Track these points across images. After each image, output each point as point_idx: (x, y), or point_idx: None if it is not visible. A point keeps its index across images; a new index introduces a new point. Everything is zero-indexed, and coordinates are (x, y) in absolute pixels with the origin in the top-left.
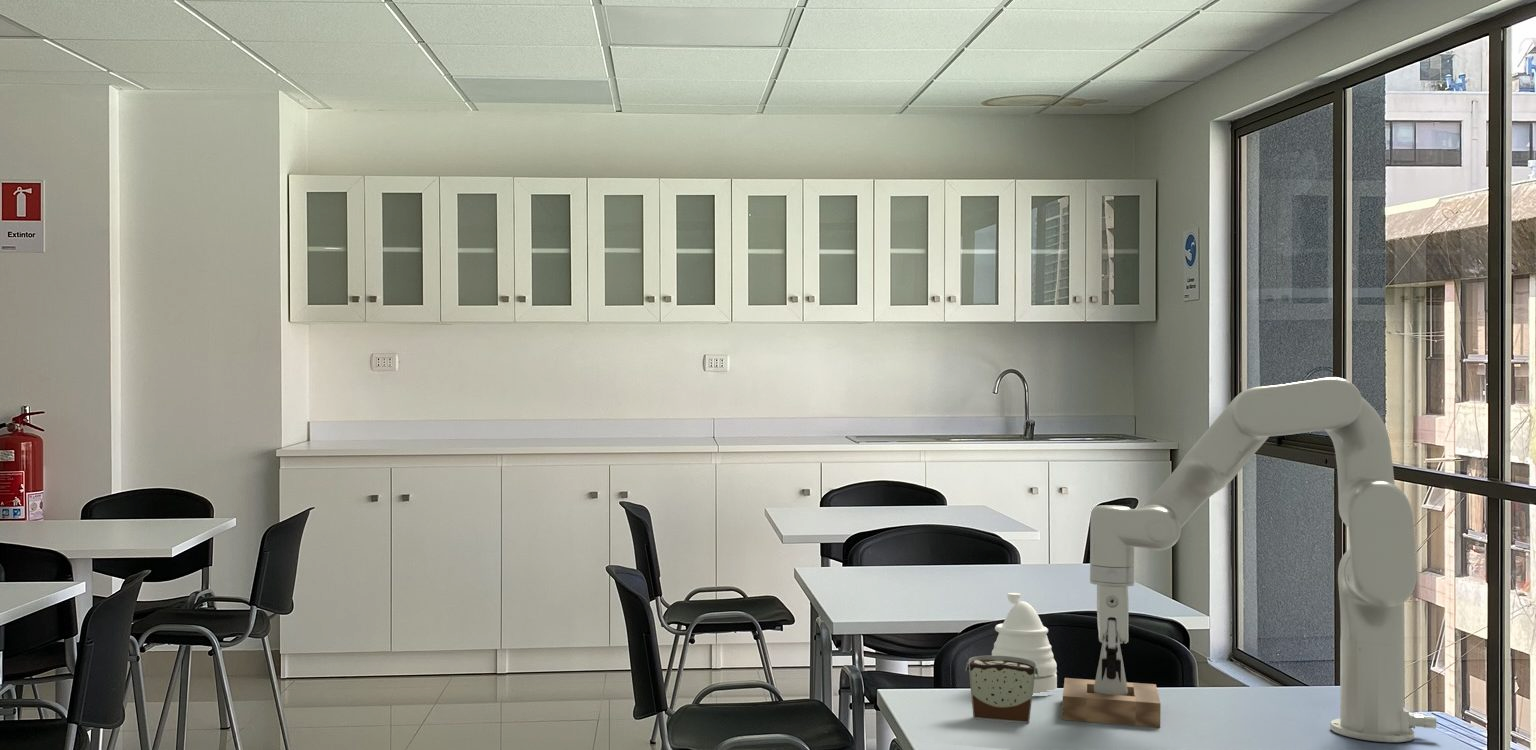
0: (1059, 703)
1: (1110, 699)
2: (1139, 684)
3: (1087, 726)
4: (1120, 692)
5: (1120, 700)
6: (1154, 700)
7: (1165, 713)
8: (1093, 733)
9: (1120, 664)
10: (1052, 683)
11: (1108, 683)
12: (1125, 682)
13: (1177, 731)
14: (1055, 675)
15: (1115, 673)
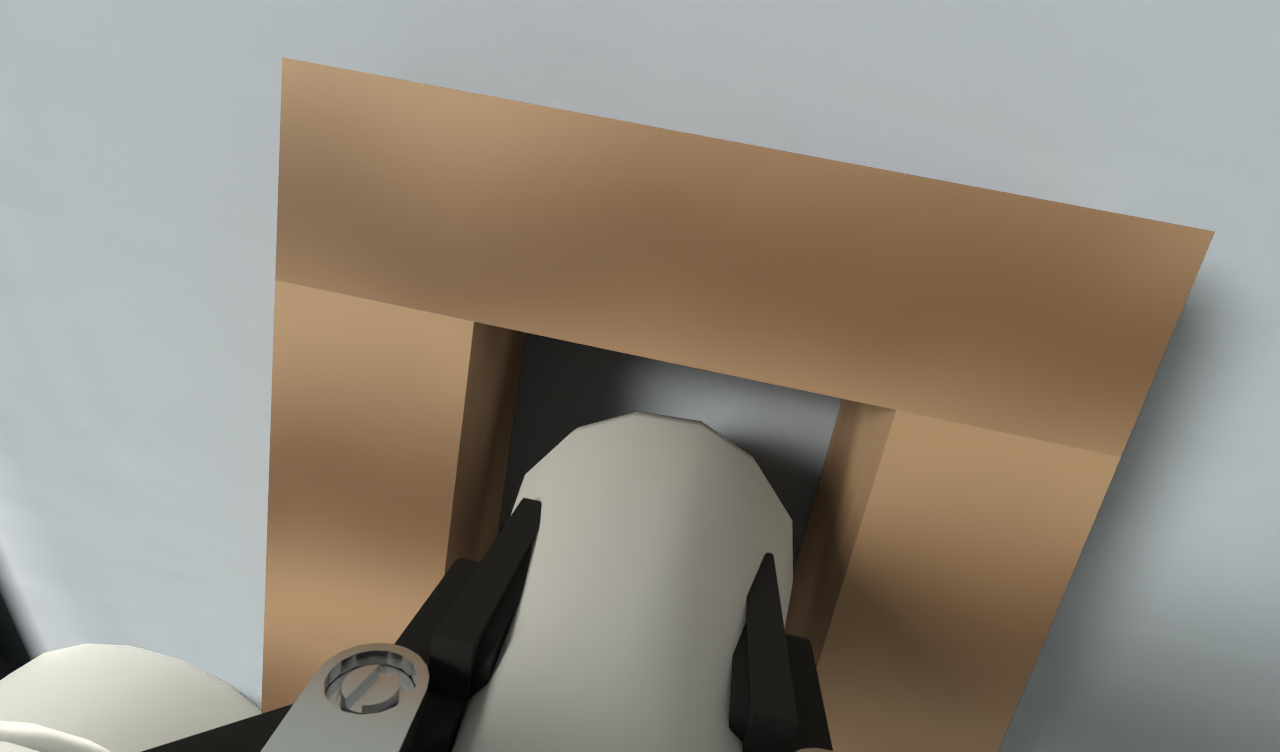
0: None
1: (1035, 647)
2: (334, 232)
3: (1051, 696)
4: (782, 511)
5: (1068, 575)
6: (1073, 262)
7: (598, 62)
8: (1245, 707)
9: (792, 685)
10: None
11: None
12: (707, 484)
13: (1216, 112)
14: (65, 738)
15: (813, 671)
